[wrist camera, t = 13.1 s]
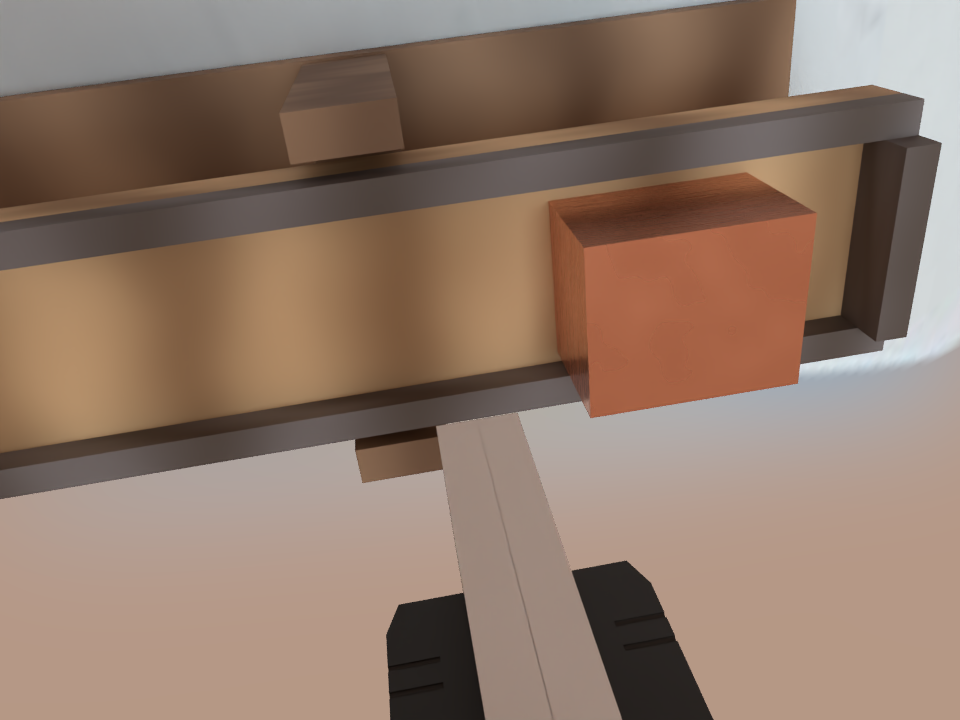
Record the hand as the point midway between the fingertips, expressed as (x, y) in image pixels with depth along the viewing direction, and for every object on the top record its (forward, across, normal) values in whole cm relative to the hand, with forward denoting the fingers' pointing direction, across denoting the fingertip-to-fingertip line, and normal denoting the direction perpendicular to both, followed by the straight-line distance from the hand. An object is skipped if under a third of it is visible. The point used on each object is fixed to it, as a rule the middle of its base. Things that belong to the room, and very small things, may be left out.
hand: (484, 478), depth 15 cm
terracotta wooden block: (+10, +6, -1) cm, 12 cm away
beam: (+11, -2, -1) cm, 11 cm away
